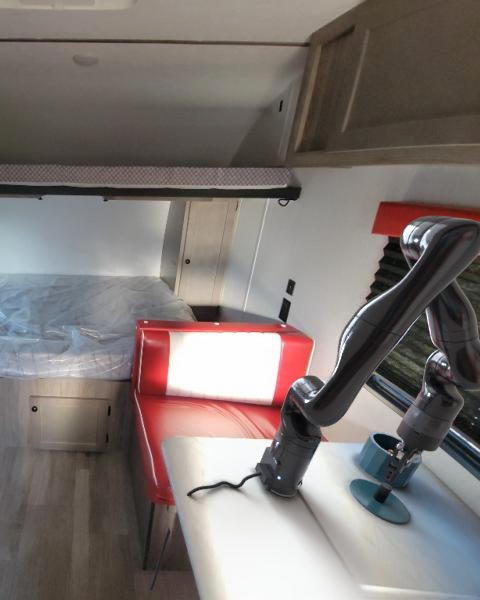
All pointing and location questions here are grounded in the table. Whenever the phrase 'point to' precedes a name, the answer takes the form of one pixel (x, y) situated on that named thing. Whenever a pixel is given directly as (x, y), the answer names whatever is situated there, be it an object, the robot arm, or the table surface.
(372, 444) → the pot
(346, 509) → the table surface
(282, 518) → the table surface
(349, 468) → the table surface
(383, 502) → the lid
